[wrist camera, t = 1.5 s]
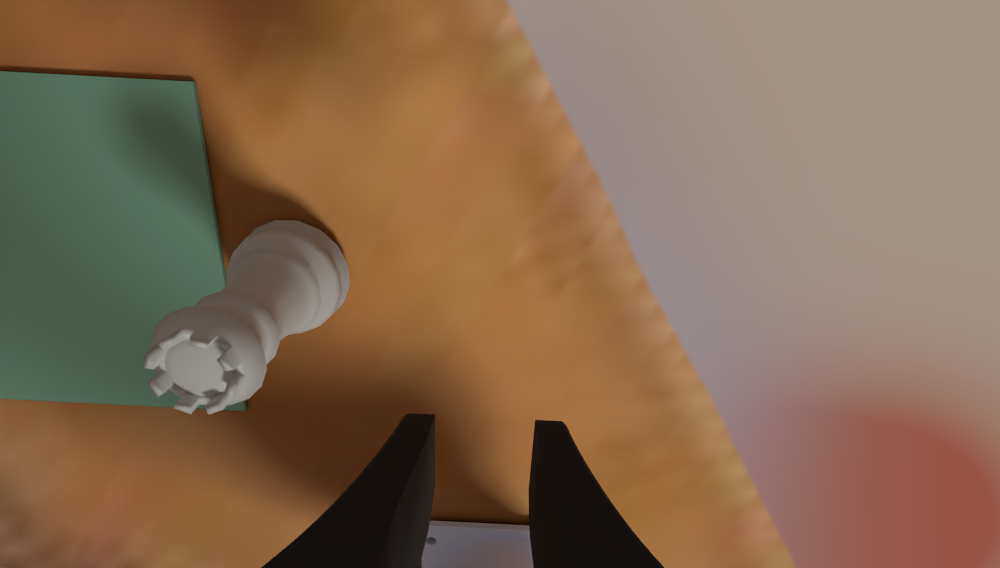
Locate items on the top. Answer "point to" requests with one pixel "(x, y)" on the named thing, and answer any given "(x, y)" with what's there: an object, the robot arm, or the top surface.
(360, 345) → the top surface
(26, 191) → the felt mat
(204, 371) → the rook chess piece
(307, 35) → the top surface
